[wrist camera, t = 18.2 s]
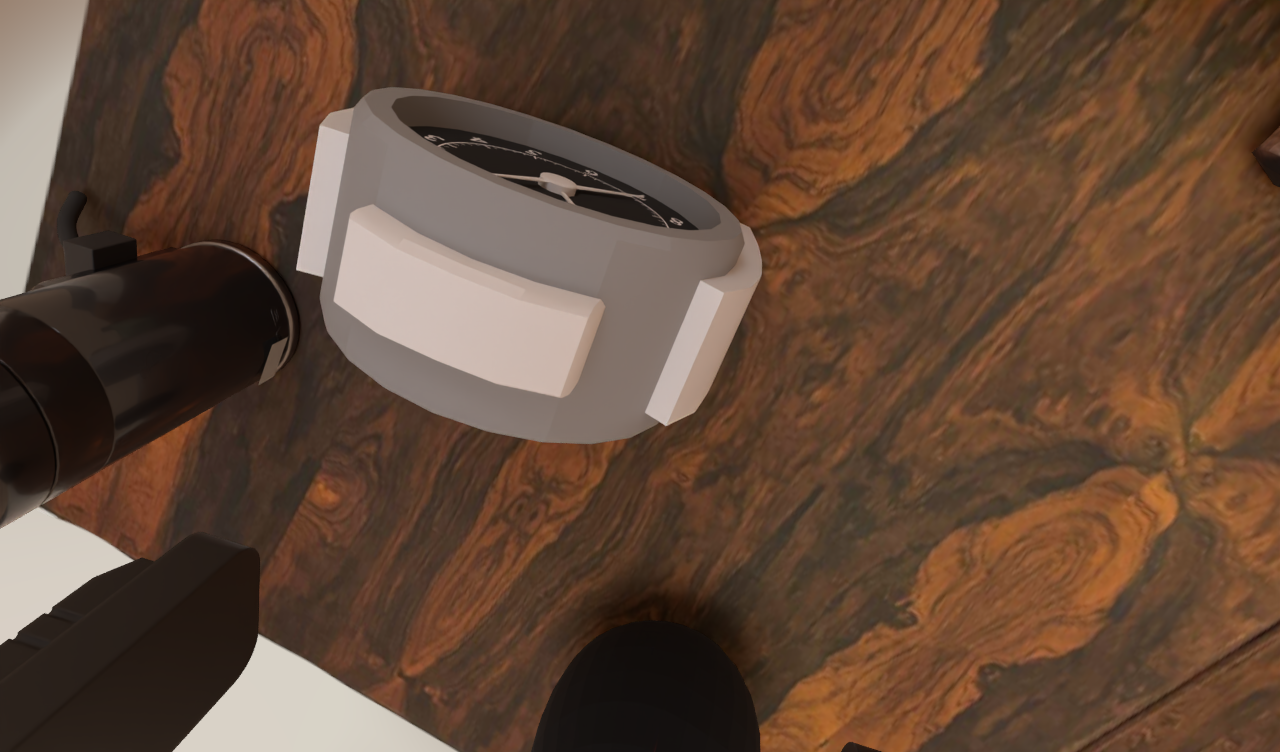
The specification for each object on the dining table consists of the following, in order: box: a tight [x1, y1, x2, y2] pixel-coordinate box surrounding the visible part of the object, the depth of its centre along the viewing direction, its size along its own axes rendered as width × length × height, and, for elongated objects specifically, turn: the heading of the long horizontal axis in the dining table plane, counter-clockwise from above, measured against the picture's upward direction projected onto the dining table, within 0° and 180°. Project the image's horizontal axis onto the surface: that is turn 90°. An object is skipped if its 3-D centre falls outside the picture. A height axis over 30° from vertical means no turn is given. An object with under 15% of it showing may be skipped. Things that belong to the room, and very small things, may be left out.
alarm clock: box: [296, 87, 762, 444], centre depth 32 cm, size 18×8×20 cm, turn 70°
